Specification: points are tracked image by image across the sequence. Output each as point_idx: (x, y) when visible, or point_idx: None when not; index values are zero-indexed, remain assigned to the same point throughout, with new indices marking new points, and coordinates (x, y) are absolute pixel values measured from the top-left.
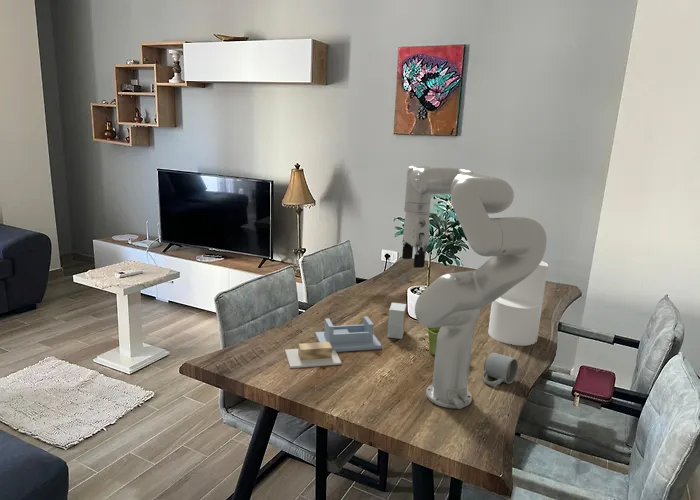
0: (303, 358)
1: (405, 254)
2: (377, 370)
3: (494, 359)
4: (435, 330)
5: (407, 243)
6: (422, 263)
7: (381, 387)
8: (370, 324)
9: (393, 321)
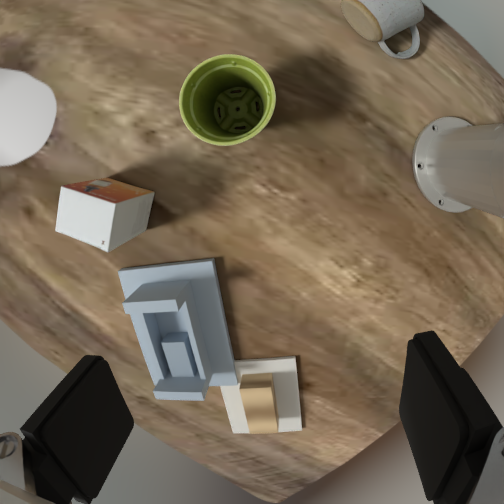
0: (278, 416)
1: (112, 436)
2: (330, 289)
3: (395, 16)
4: (194, 109)
5: (43, 498)
6: (466, 376)
7: (401, 292)
8: (177, 308)
9: (128, 228)
